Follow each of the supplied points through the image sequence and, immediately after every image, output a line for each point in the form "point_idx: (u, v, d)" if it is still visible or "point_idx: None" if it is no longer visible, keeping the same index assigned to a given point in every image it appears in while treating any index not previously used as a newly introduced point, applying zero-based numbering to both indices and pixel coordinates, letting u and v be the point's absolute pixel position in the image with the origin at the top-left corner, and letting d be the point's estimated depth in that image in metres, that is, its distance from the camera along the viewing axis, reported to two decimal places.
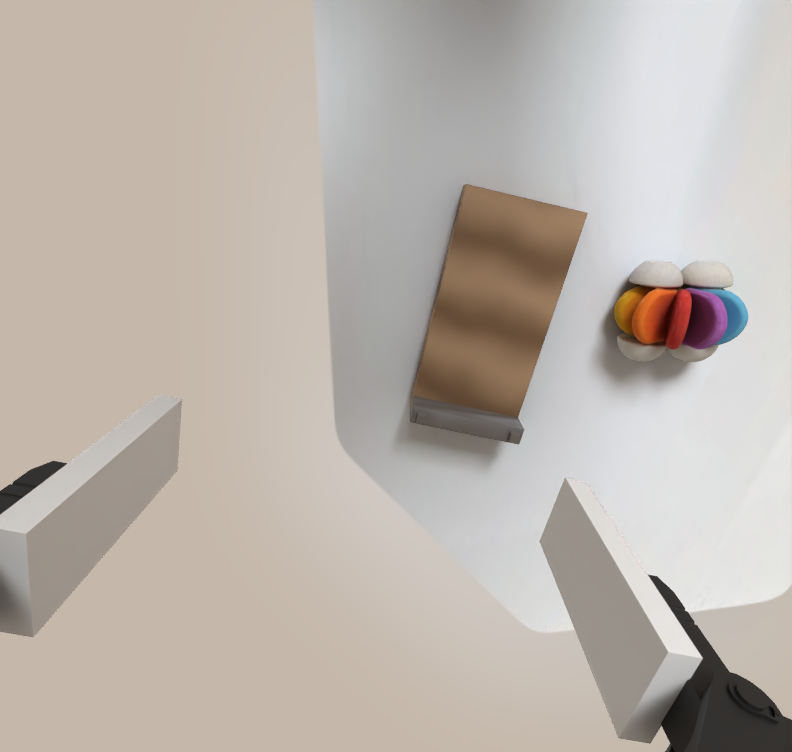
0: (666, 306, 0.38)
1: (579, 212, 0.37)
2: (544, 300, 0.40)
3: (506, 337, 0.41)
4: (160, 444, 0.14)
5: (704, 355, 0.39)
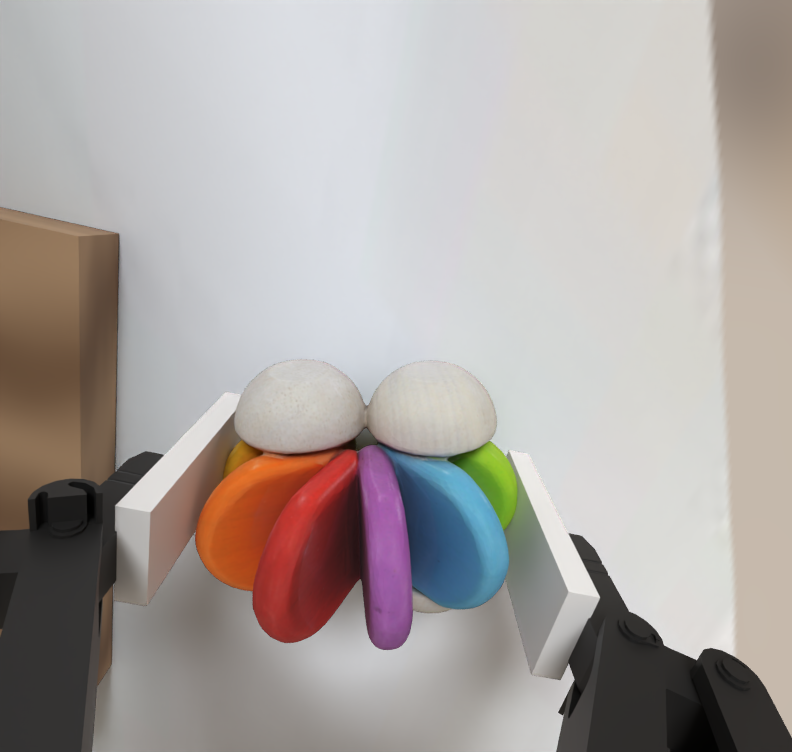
0: None
1: (56, 234, 0.14)
2: (48, 450, 0.16)
3: None
4: (231, 437, 0.15)
5: (440, 609, 0.15)
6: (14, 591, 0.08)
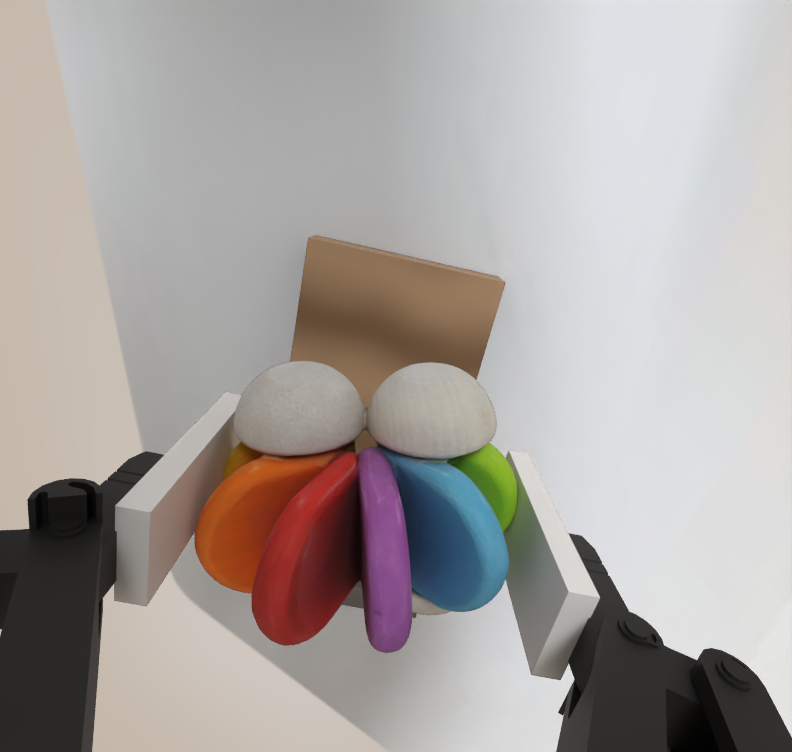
0: None
1: (492, 281, 0.23)
2: None
3: None
4: (231, 437, 0.15)
5: (439, 611, 0.15)
6: (14, 591, 0.08)
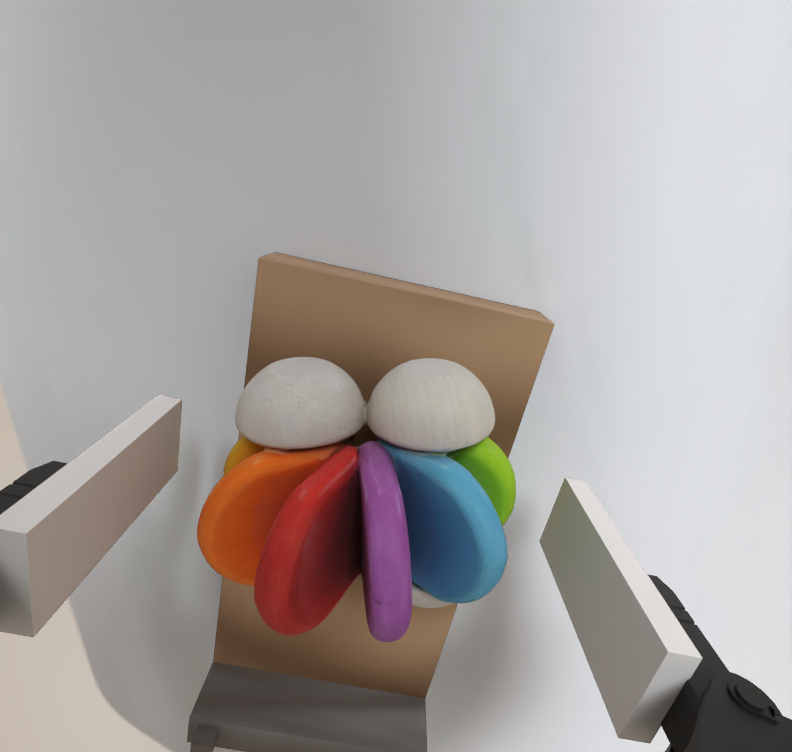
0: None
1: (535, 322, 0.16)
2: None
3: None
4: (160, 444, 0.14)
5: (439, 604, 0.15)
6: None
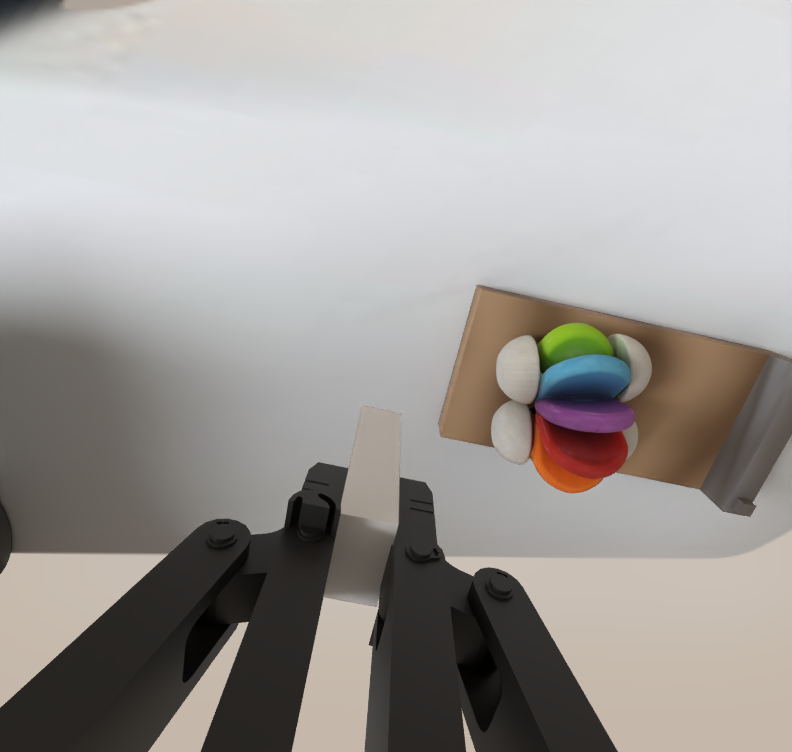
0: None
1: (480, 301, 0.28)
2: None
3: None
4: None
5: (644, 373, 0.25)
6: (266, 576, 0.09)
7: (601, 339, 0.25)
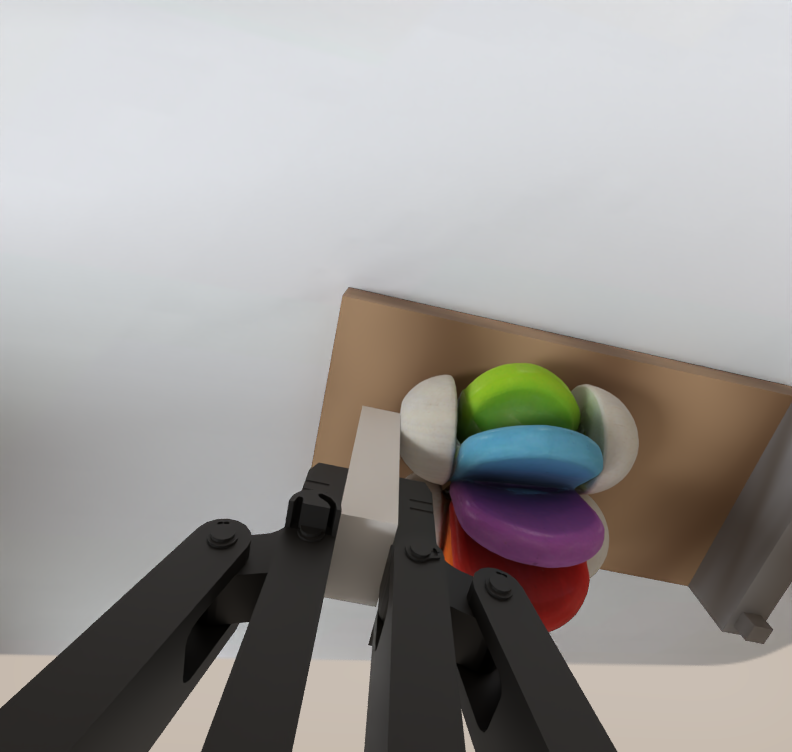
0: None
1: (342, 312, 0.18)
2: None
3: None
4: None
5: (626, 457, 0.15)
6: (266, 576, 0.09)
7: (561, 394, 0.16)
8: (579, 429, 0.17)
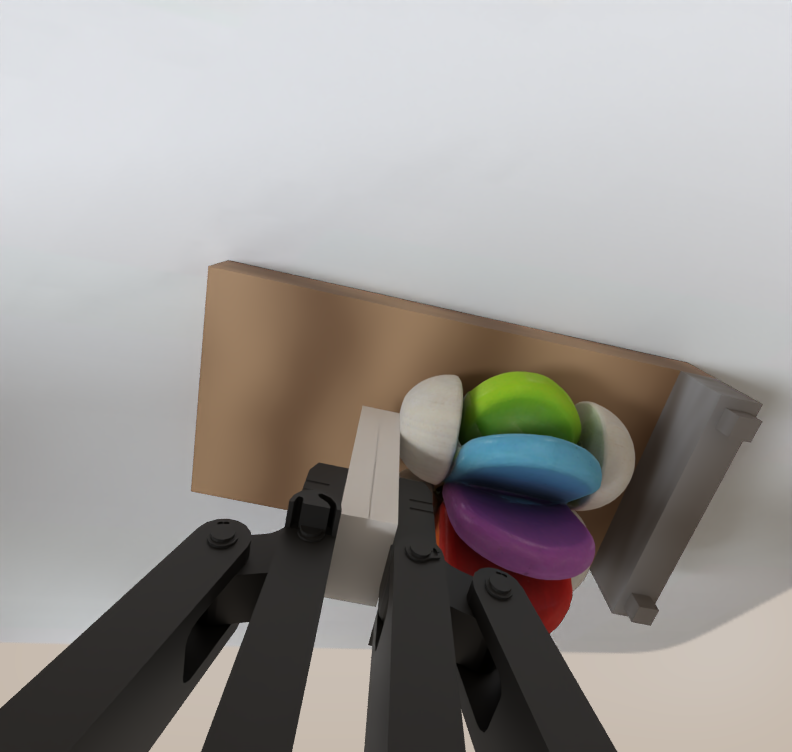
0: None
1: (209, 283, 0.17)
2: (398, 337, 0.18)
3: None
4: None
5: (622, 477, 0.16)
6: (267, 576, 0.09)
7: (566, 408, 0.16)
8: (577, 445, 0.17)
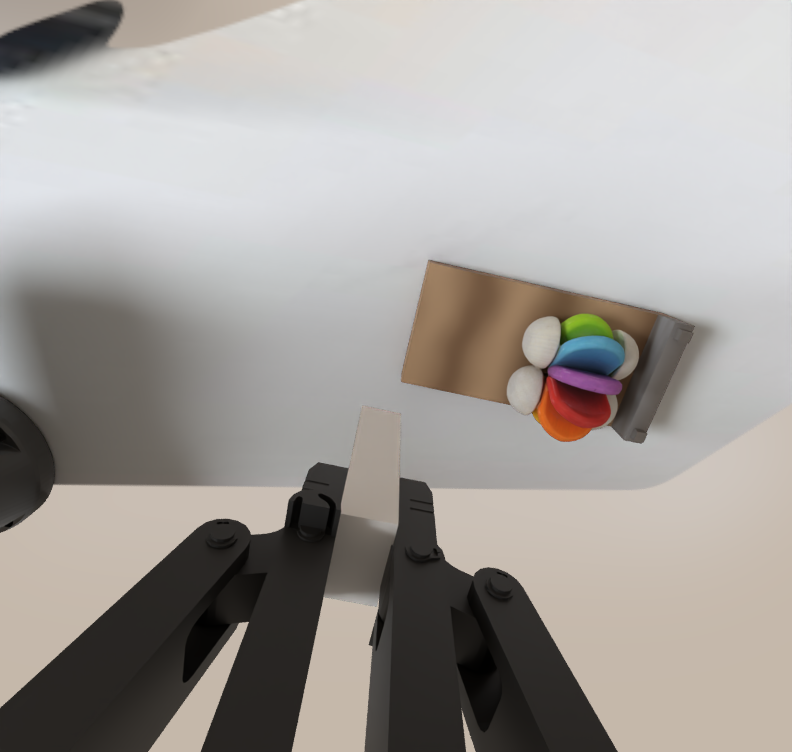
0: None
1: (428, 271, 0.36)
2: (518, 298, 0.36)
3: None
4: None
5: (633, 361, 0.34)
6: (266, 576, 0.09)
7: (607, 329, 0.34)
8: None
